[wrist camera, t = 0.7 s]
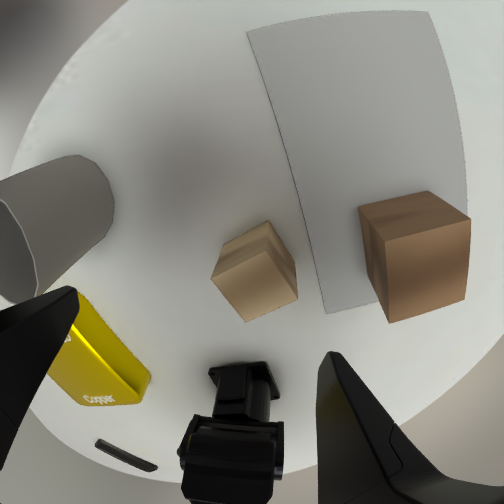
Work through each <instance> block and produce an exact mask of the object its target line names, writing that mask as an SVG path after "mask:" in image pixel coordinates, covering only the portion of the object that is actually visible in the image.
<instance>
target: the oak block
mask: <svg viewBox="0 0 504 504" xmlns="http://www.w3.org/2000/svg"><path fill="white" fill-rule="evenodd" d="M211 280H212V281H213V283H214V284H215V285H216V286H217V288H218V289H219V290H220V292H221V293H222V294H223V295H224V297H225V298H226V299H227V300H228V302H229V303H230V304H231V305H232V307H233V308H234V309H235V310H236V312H237V313H238V314H239V315H240V316H241V318H242V319H243V320H244V321H245V322H247V321H250V320H252V319H254V318H257V317H259V316H261V315H264V314H266V313H268V312H271V311H273V310H275V309H277V308H280V307H282V306H284V305H286V304H289V303H291V302H293V301H295V300H297V299H298V294H297V282H296V271H295V262H294V260H293V258H292V257H291V255H290V254H289V252H288V250H287V249H286V247H285V246H284V244H283V242H282V241H281V239H280V238H279V236H278V234H277V233H276V231H275V230H274V228H273V227H272V225H271V223H270V222H269V220H268V221H266V222H264V223H262V224H260V225H259V226H257V227H255V228H253V229H251V230H250V231H248V232H246V233H244V234H242V235H241V236H239V237H237V238H235V239H233V240H232V241H230V242H228V243H226V244H224V246H223V248H222V251H221V253H220V256H219V259H218V261H217V264H216V266H215V269H214V271H213V274H212V277H211Z"/></svg>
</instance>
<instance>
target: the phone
mask: <svg viewBox="0 0 504 504" xmlns="http://www.w3.org/2000/svg"><path fill="white" fill-rule="evenodd" d="M95 447H96V448H98V449H100V450H101V451H103V452H105V453H107V454H109V455H111V456H113V457H115V458H117V459H119V460H121V461H123V462H125V463H128V464H130V465H132V466H134V467H136V468H139V469H141V470H143V471H146V472H152V471H155V470H157V468H158V466H156V465H154V464H152V463H150V462H147V461H145V460H143V459H140V458H138V457H136V456H134V455H132V454H130V453H128V452H125V451H123V450H121V449H119V448H117V447H115V446H114V445H112V444H110V443H108V442H106V441H104V440H102V439H99V440H98V441H97V442H96V443H95Z"/></svg>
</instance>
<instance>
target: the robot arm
mask: <svg viewBox="0 0 504 504" xmlns="http://www.w3.org/2000/svg"><path fill="white" fill-rule="evenodd" d="M79 310H80V304H79V298H78V292H77V289H76V288H74V287H71V286H64V287H61V288H58V289H56V290H53V291H50V292H48V293H45V294H42V295H40V296H37V297H34V298H32V299H29V300H27V301H24V302H21V303H19V304H16V305H14V306H11V307H9V308H6V309H4V310H1V311H0V471H1V470H2V468H3V465H4V463H5V460H6V458H7V455H8V453H9V450H10V448H11V445H12V443H13V441H14V438H15V436H16V434H17V431H18V428H19V427H20V424H21V422H22V420H23V418H24V416H25V414H26V412H27V410H28V408H29V406H30V404H31V402H32V400H33V398H34V396H35V394H36V392H37V390H38V388H39V386H40V384H41V382H42V381H43V379H44V377H45V375H46V373H47V371H48V370H49V368H50V366H51V364H52V363H53V361H54V359H55V357H56V356H57V354H58V352H59V351H60V349H61V347H62V345H63V344H64V342H65V340H66V338H67V336H68V333H69V331H70V329H71V327H72V325H73V323H74V321H75V319H76V317H77V315H78V313H79ZM208 374H209V376H210V378H211V379H212V381H213V382H214V384H215V385H216V387H217V393H216V397H215V404H214V409H213V413H212V417H205V416H200V415H197V414H194V416H193V419H192V420H191V421H190V423H189V426H188V428H187V430H186V433H185V435H184V437H183V440H182V442H181V444H180V446H179V448H178V449H177V454H178V456H179V457H180V466H181V469H182V470H184V474H183V480H182V485H181V490H182V492H183V494H184V497H185V498H186V499H188V500H189V501H190V502H191V504H267V502H268V501H269V500H270V499H271V497H272V494H273V482H274V480H281V479H282V474H283V464H284V422H280V421H278V422H269V417H270V400H276V399H279V398H280V393H279V391H278V388H277V386H276V384H275V381H274V379H273V377H272V374H271V372H270V370H269V367H268V365H267V364H266V363H264V362H260V363H253V364H246V365H238V366H229V367H220V368H211V369H209V372H208ZM316 429H317V456H318V504H504V486H501V487H500V486H488V485H483V484H477V483H471V482H466V481H461V480H456V479H453V478H449V477H447V476H445V475H444V474H442V473H441V472H440V471H439V470H438V469H437V468H436V467H435V466H434V465H433V464H432V463H431V462H430V461H429V460H428V459H427V458H426V457H425V456H424V455H423V454H422V453H421V452H420V451H419V450H418V449H417V448H416V447H415V446H414V445H413V443H412V442H411V441H410V440H409V439H408V438H407V437H406V435H405V434H404V433H403V432H402V430H401V429H400V428H399V427H398V425H397V424H396V423H394V420H393V419H392V418H391V417H390V415H389V414H388V413H387V411H386V410H385V409H384V408H383V406H382V405H381V404H380V403H379V401H378V400H377V399H376V397H375V396H374V395H373V394H372V392H371V391H370V390H369V389H368V387H367V386H366V385H365V383H364V382H363V381H362V380H361V378H360V377H359V376H358V375H357V373H356V372H355V371H354V370H353V368H352V367H351V366H350V365H349V363H348V362H347V361H346V359H345V358H344V357H343V356H342V354H341V353H339V352H333V351H329V352H327V354H326V356H325V357H324V359H323V361H322V363H321V365H320V367H319V370H318V382H317V398H316ZM0 504H1V503H0Z"/></svg>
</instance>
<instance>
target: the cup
mask: <svg viewBox="0 0 504 504" xmlns="http://www.w3.org/2000/svg"><path fill="white" fill-rule="evenodd" d="M113 214H114V198H113V195H112V191H111V188H110V184H109V181H108V179H107V178H106V176H105V175H104V174H103V172H102V171H101V170H100V168H99V167H98V166H97V164H96V163H95V162H93V161H91V160H89V159H87V158H85V157H83V156H81V155H73V156H65V157H61V158H58V159H55V160H52V161H49V162H47V163H44V164H41V165H38V166H36V167H33V168H30V169H28V170H25V171H23V172H20V173H18V174H15V175H13V176H10V177H8V178H6V179H4V180H1V181H0V295H1V296H2V297H3V298H4V299H5V300H6V301H8V302H9V303H12V304H14V305H16V304H19V303H21V302H24V301H27V300H29V299H32V298H34V297H37V296H40V295H42V294H43V293H44V292H45V291H46V290H47V289H48V288H49V287H50V286H51V285H52V284H53V283H54V282H55V281H56V280H57V279H58V278H59V277H60V276H61V275H63V274H64V273H65V272H66V271H67V270H68V269H69V268H70V267H71V266H72V265H73V264H74V263H75V262H77V261H78V260H79V259H80V258H81V257H82V256H83V255H84V254H85V253H87V252H88V251H89V250H90V249H91V248H92V247H93V246H95V245H96V244H97V243H98V242H99V241H100V240H102V239H103V238H104V237H105V235H106V233H107V232H108V230H109V228H110V226H111V225H112V223H113Z"/></svg>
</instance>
